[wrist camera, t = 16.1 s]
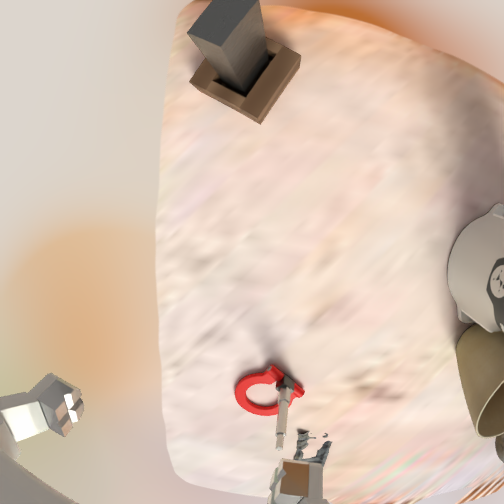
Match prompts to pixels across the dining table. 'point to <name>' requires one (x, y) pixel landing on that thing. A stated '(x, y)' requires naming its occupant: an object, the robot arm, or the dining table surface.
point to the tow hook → (285, 397)
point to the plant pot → (483, 378)
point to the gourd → (500, 446)
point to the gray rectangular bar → (233, 42)
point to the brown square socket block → (264, 90)
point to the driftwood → (321, 453)
